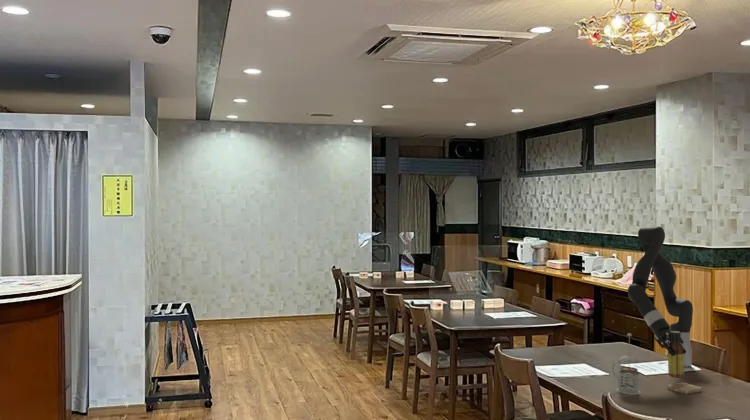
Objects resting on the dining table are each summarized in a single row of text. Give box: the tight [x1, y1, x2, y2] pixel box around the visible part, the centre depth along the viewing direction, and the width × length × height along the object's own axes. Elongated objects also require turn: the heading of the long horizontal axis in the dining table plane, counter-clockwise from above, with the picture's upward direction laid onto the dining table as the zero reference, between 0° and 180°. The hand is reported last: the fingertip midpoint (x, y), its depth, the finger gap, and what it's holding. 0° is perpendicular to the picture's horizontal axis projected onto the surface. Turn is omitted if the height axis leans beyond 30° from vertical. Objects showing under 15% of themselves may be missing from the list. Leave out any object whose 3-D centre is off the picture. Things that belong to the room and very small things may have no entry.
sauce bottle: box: [667, 331, 685, 379], centre depth 283 cm, size 7×6×20 cm
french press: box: [611, 332, 642, 396], centre depth 276 cm, size 10×12×25 cm
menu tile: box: [667, 381, 703, 395], centre depth 279 cm, size 2×10×9 cm
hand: (679, 354), depth 281 cm, fingers closed on sauce bottle, 6 cm apart
